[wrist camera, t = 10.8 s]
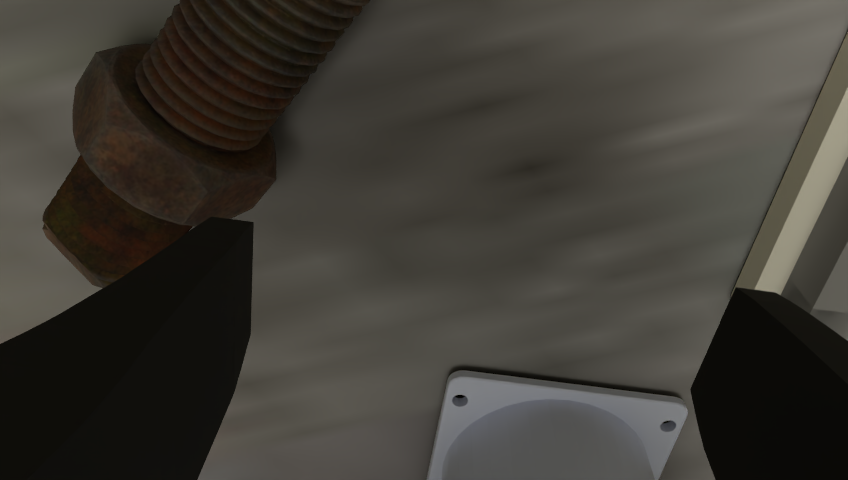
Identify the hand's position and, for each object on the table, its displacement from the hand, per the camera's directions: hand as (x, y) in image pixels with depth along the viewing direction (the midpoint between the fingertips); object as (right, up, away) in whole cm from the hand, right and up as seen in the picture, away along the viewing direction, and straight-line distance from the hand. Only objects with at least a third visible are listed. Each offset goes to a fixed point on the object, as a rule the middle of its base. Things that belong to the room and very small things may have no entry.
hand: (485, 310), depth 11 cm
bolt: (-5, +7, +8) cm, 11 cm away
